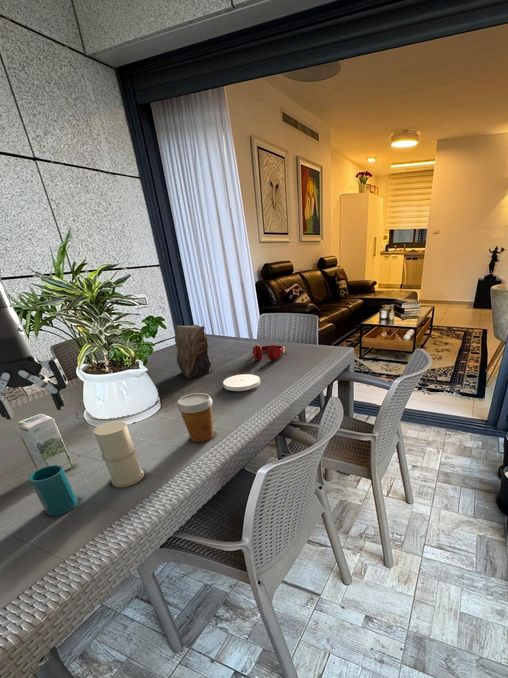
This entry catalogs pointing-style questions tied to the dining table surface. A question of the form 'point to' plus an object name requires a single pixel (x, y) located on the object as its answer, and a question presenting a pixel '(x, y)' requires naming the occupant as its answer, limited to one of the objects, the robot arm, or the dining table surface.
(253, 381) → the plastic lid
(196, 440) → the disposable coffee cup
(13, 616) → the dining table surface
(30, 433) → the syrup box
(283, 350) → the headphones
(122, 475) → the cup stack
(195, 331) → the brown stone chunk
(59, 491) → the teal cup
